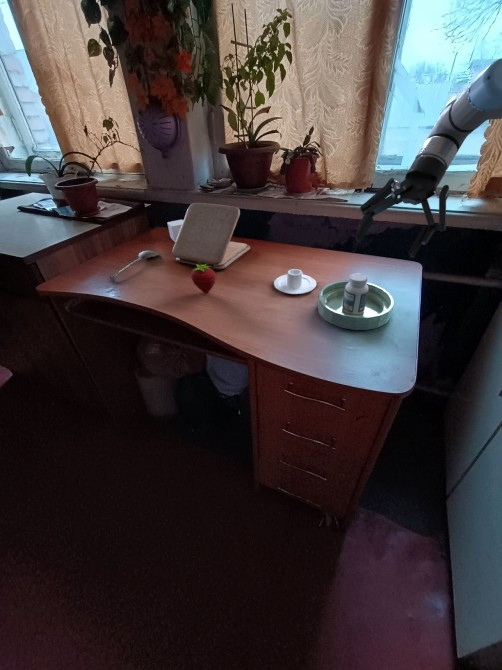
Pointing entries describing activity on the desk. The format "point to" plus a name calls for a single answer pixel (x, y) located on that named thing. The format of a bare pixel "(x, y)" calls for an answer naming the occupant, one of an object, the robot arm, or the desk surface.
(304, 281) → the candle holder
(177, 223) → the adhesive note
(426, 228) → the robot arm
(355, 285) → the pill bottle
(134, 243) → the desk surface
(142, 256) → the soupspoon
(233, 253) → the case
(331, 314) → the bowl
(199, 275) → the strawberry
